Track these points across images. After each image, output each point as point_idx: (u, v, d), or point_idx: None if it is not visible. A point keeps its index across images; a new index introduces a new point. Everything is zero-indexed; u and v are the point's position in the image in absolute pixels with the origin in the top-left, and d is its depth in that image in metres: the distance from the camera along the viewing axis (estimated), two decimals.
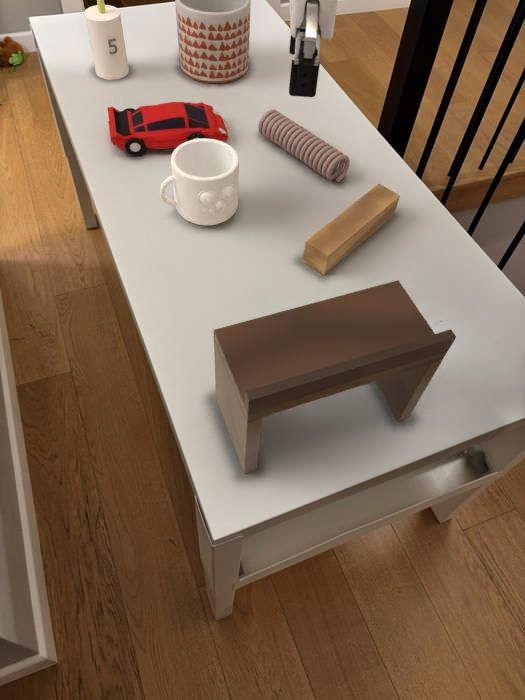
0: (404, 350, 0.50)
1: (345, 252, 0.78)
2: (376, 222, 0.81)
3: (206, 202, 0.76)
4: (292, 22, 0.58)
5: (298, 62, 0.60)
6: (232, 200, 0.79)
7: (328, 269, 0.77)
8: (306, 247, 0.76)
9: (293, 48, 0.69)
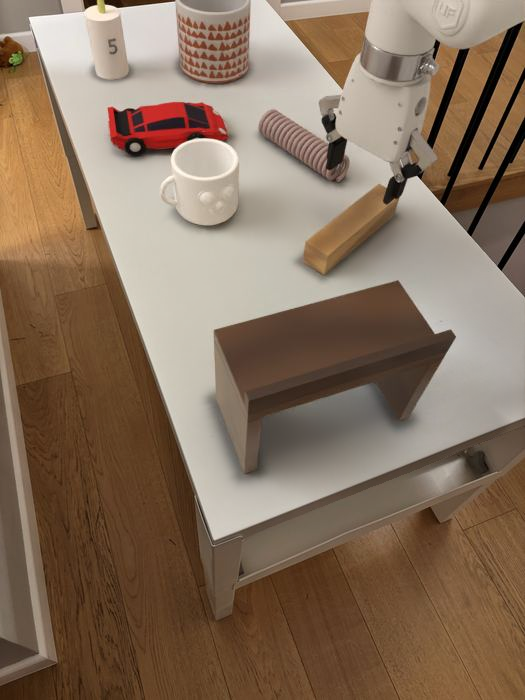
0: (404, 350, 0.50)
1: (345, 252, 0.78)
2: (376, 222, 0.81)
3: (206, 202, 0.76)
4: (397, 153, 0.65)
5: (404, 179, 0.67)
6: (232, 200, 0.79)
7: (328, 269, 0.77)
8: (306, 247, 0.76)
9: (332, 165, 0.74)
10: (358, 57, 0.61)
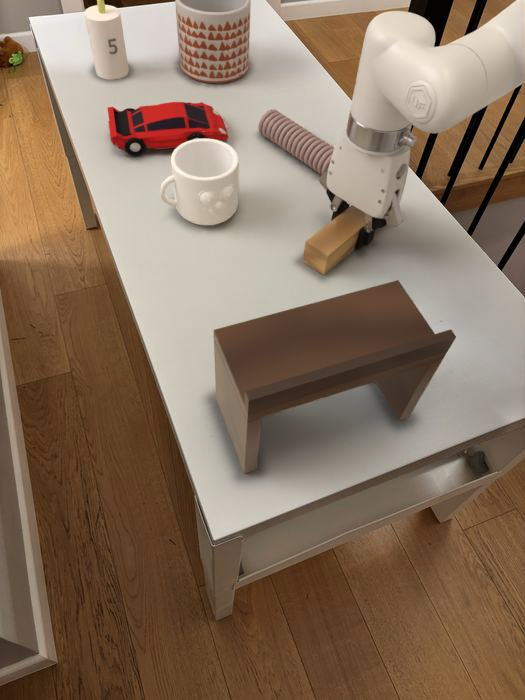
0: (404, 350, 0.50)
1: (345, 252, 0.78)
2: None
3: (206, 202, 0.76)
4: (382, 210, 0.72)
5: (372, 229, 0.76)
6: (232, 200, 0.79)
7: (328, 269, 0.77)
8: (306, 247, 0.76)
9: None
10: (345, 127, 0.69)
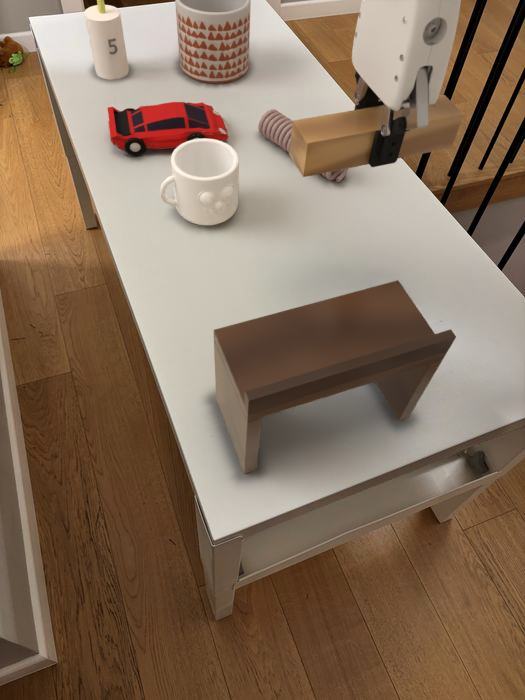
0: (404, 350, 0.50)
1: (347, 159, 0.56)
2: (412, 139, 0.57)
3: (206, 202, 0.76)
4: (398, 95, 0.48)
5: (390, 133, 0.53)
6: (232, 200, 0.79)
7: (311, 170, 0.55)
8: (292, 130, 0.55)
9: None
10: None
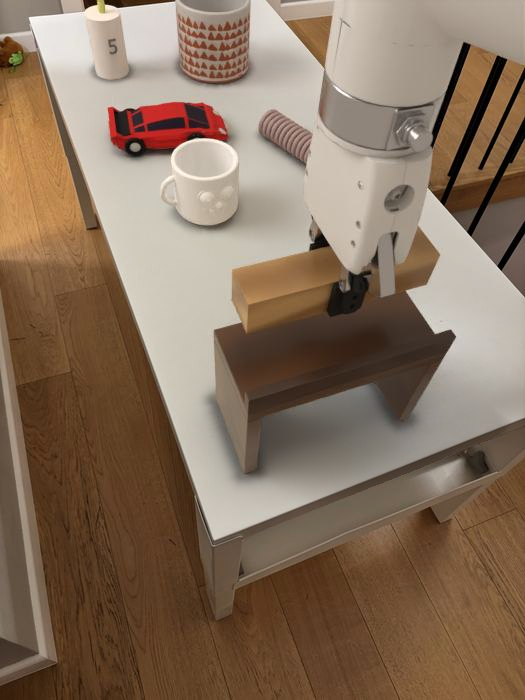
0: (404, 350, 0.50)
1: (300, 311, 0.46)
2: None
3: (206, 202, 0.76)
4: (356, 261, 0.39)
5: (350, 290, 0.43)
6: (232, 200, 0.79)
7: (256, 327, 0.46)
8: (232, 279, 0.45)
9: None
10: None
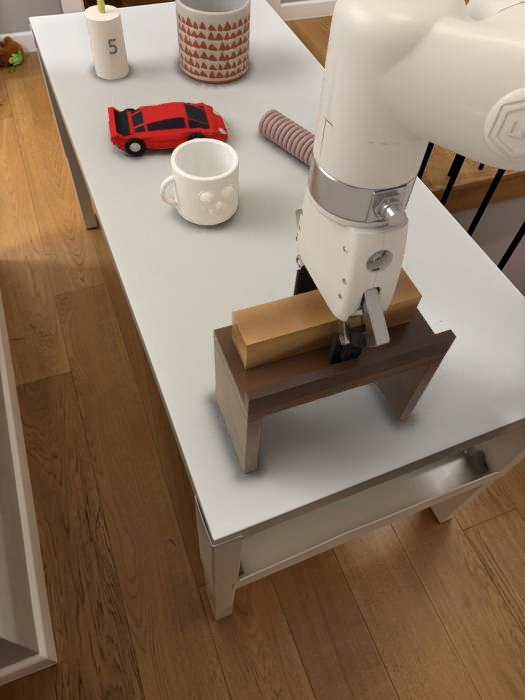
0: (404, 350, 0.50)
1: (294, 348, 0.51)
2: None
3: (206, 202, 0.76)
4: (343, 311, 0.43)
5: (349, 343, 0.47)
6: (232, 200, 0.79)
7: (254, 363, 0.50)
8: (232, 320, 0.50)
9: None
10: None
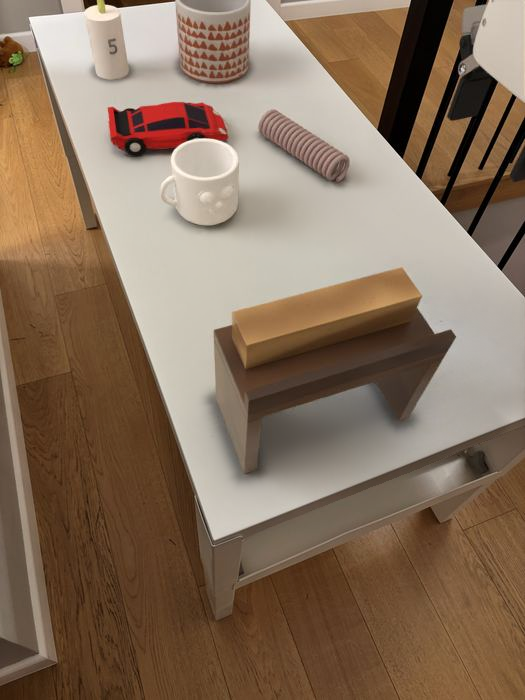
0: (404, 350, 0.50)
1: (294, 348, 0.51)
2: (366, 322, 0.52)
3: (206, 202, 0.76)
4: None
5: None
6: (232, 200, 0.79)
7: (254, 363, 0.50)
8: (232, 320, 0.50)
9: (457, 113, 0.51)
10: None
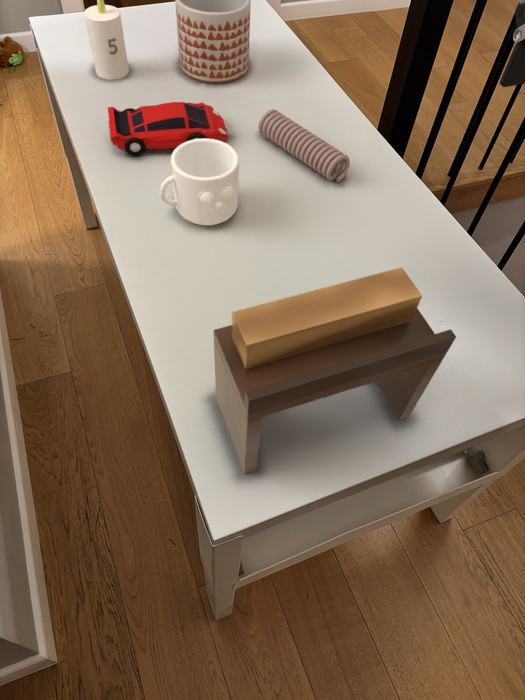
0: (404, 350, 0.50)
1: (294, 348, 0.51)
2: (366, 322, 0.52)
3: (206, 202, 0.76)
4: None
5: None
6: (232, 200, 0.79)
7: (254, 363, 0.50)
8: (232, 320, 0.50)
9: (509, 79, 0.54)
10: None
